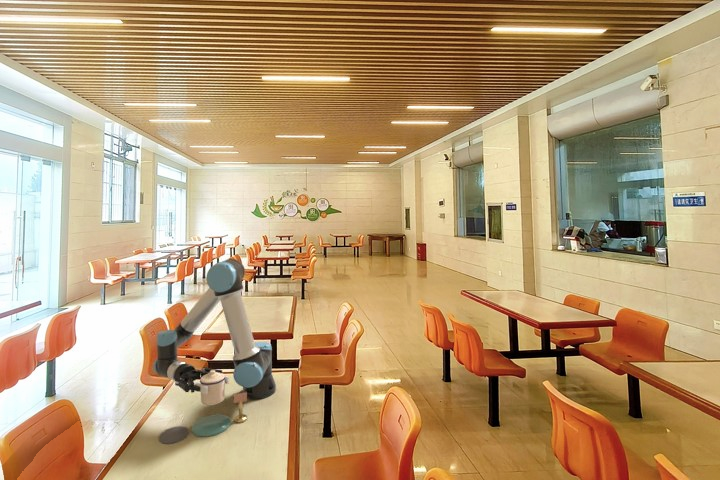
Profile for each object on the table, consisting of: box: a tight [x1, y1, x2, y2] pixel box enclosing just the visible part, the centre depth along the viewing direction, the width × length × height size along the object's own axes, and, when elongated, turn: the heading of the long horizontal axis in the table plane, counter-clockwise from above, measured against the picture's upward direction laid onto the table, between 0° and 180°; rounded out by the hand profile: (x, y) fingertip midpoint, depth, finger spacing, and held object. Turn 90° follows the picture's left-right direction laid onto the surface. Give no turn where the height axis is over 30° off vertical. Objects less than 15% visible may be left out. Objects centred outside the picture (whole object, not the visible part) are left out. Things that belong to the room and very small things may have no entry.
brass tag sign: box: [233, 391, 248, 424], centre depth 148 cm, size 5×5×11 cm
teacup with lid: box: [199, 370, 226, 406], centre depth 142 cm, size 12×9×12 cm
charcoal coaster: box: [158, 425, 190, 445], centre depth 137 cm, size 10×10×1 cm
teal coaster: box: [191, 414, 231, 438], centre depth 143 cm, size 14×14×1 cm
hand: (217, 385), depth 140 cm, fingers closed on teacup with lid, 9 cm apart
